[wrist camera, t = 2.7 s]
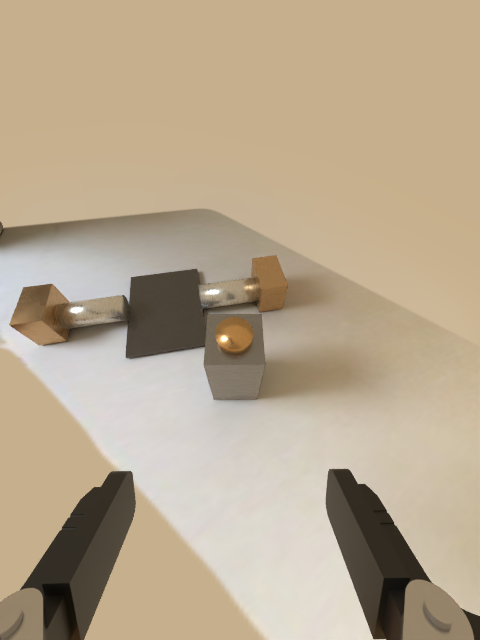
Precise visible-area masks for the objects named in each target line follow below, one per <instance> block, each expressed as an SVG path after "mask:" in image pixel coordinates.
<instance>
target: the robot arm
mask: <svg viewBox="0 0 480 640" xmlns="http://www.w3.org/2000/svg"><path fill="white" fill-rule="evenodd" d="M2 229H3V225H2V223H1V222H0V233H1V232H2ZM135 502H136V501H135V492H134V483H133V474H132V472H131V471H112V472H111V473H109V475H108V476H107V478H106V480H105V481H104V483H103V485H102V486H101V487H94V488H93V489H92V490H91V491H90V492H88V493H87V494H86V495H85V496H84V497H83V498H82V499H81V500H80V501H79V503H78V504H77V506H76V507H75V509H74V510H73V512H72V513H71V516H70V518H68V519H67V521H66V522H65V524H64V525H63V527H62V530H61V531H59V533H58V534H57V536H56V537H55V539H54V541H53V542H52V543H51V545H50V546H49V548H48V550H47V551H46V552H45V554H44V555H43V557H42V558H41V560H40V561H39V563H38V564H37V566H36V567H35V569H34V570H33V572H32V574H31V575H30V576H29V578H28V579H27V581H26V582H25V584H24V585H23V586H22V588H21V589H20V591H17V592H15V593H13V594H11V595H10V596H8V597H7V598H5V599H4V600H3V601H1V602H0V640H84V638H85V635H86V633H87V631H88V628H89V626H90V623H91V621H92V618H93V616H94V614H95V611H96V608H97V606H98V603H99V601H100V599H101V596H102V594H103V591H104V589H105V586H106V584H107V582H108V579H109V577H110V574H111V572H112V569H113V567H114V564H115V562H116V559H117V557H118V555H119V552H120V550H121V547H122V545H123V542H124V540H125V537H126V535H127V532H128V530H129V527H130V525H131V523H132V520H133V517H134V512H135V504H136V503H135ZM326 508H327V513H328V517H329V520H330V523H331V526H332V528H333V531H334V534H335V536H336V539H337V542H338V544H339V547H340V550H341V553H342V555H343V558H344V561H345V563H346V566H347V569H348V571H349V574H350V577H351V580H352V582H353V585H354V588H355V590H356V593H357V596H358V598H359V601H360V604H361V607H362V609H363V612H364V615H365V617H366V620H367V623H368V625H369V628H370V631H371V634H372V636H373V639H386V640H480V616H478V615H475V614H472V613H470V612H467V611H465V610H464V609H462V608H460V607H459V605H458V604H457V603H456V602H455V601H454V600H453V598H451V597H450V596H449V595H448V594H447V593H446V592H445V591H444V590H442V589H441V588H439V587H438V586H436V585H434V584H433V583H432V582H431V581H430V579H429V578H428V576H427V575H426V573H425V572H424V570H423V568H422V567H421V565H420V564H419V562H418V560H417V559H416V557H415V556H414V554H413V552H412V551H411V549H410V547H409V546H408V544H407V543H406V541H405V539H404V538H403V536H402V535H401V533H400V531H399V530H398V528H397V526H395V525H394V522H393V520H392V518H391V517H390V515H389V514H388V513H387V510H386V509H385V507H384V505H383V504H382V502H381V501H380V499H379V497H378V496H377V495H376V494H375V493H374V492H373V491H372V490H371V489H370V488H369V487H368V486H367V485H365V484H358V483H357V482H356V480H355V478H354V476H353V475H352V473H351V471H350V470H349V469H329V471H328V480H327V491H326Z"/></svg>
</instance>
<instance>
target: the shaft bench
mask: <svg viewBox="0 0 480 640" xmlns="http://www.w3.org/2000/svg"><path fill="white" fill-rule="evenodd" d="M287 288H288V284H287V282H286V279H285V277H284V274H283V272H282V269H281V266H280V264H279V261H278V259H277V256H268V257H260V258H253V259H252V274H251V278H246V279H239V280H231V281H224V282H217V283H209V284H202V285H199V278H198V271H197V269H193V270H185V271H177V272H169V273H161V274H154V275H146V276H138V277H131V288H130V302H129V304H128V301H127V299H126V297H125V296H124V295H121V296H113V297H106V298H99V299H91V300H84V301H76V302H69V301H68V300H67V299H66V298H65V297H64V296H63V295H62V293H61V292H60V291H59V290H58V289H57V288H56V287H55V286H54V285H53V284H47V285H39V286H31V287H24V288H23V290H22V293H21V295H20V298H19V301H18V303H17V306H16V309H15V311H14V314H13V317H12V319H11V322H10V324H9V325H10V326H11V327H13V328H14V329H16V330H17V331H19V332H20V333H22V334H23V335H25V336H26V337H28V338H29V339H30V340H32V341H33V342H35V343H36V344H38V345H44V344H51V343H58V342H64V341H67V338H68V333H69V329H70V328H76V327H83V326H90V325H97V324H104V323H111V322H117V321H124V320H128V330H127V345H126V358H132V357H138V356H144V355H151V354H157V353H163V352H169V351H175V350H181V349H187V348H193V347H200V346H205V341H206V332H205V324H204V317H203V309H206V308H213V307H220V306H227V305H234V304H240V303H247V302H254V301H256V302H257V306H258V310H259V312H262V311H269V310H275V309H282V307H283V303H284V299H285V295H286V291H287Z"/></svg>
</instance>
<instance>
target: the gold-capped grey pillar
mask: <svg viewBox="0 0 480 640" xmlns="http://www.w3.org/2000/svg"><path fill="white" fill-rule="evenodd" d="M204 368H205V371H206V375H207V378H208V381H209V385H210V388H211V392H212V395H213V398H214V400H221V399H257V396H258V392H259V388H260V384H261V380H262V376H263V372H264V368H265V355H264V341H263V328H262V314H207V327H206V341H205V355H204Z"/></svg>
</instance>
